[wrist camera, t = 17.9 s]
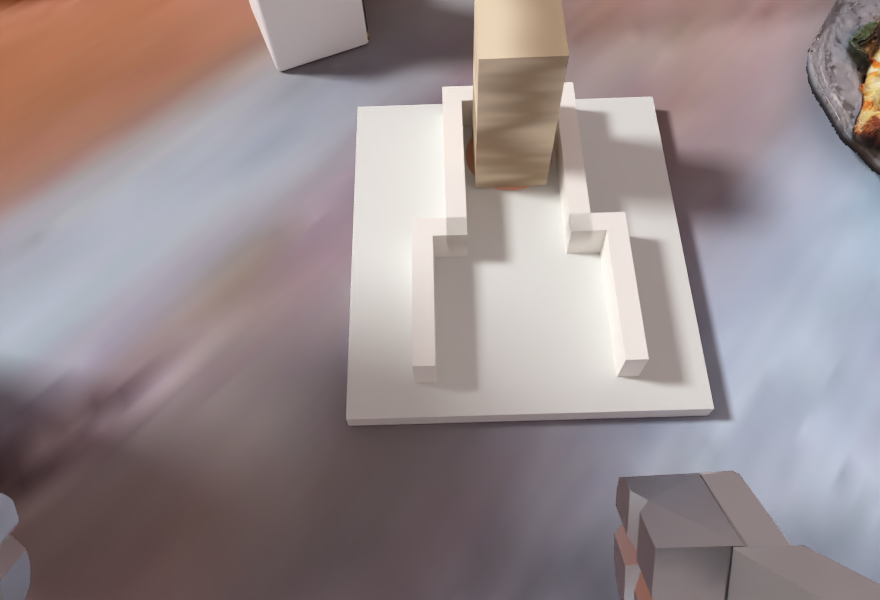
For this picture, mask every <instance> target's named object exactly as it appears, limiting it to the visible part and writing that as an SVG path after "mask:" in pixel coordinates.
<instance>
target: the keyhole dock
mask: <svg viewBox="0 0 880 600" xmlns="http://www.w3.org/2000/svg"><path fill="white" fill-rule="evenodd" d="M442 96H443V104H428V105H400V106H372V107H358V114H357V140H356V167H355V193H354V219H353V246H352V272H351V298H350V324H349V351H348V377H347V403H346V421H347V423H348V425H349V426H360V425H395V424H430V423H465V422H500V421H535V420H570V419H604V418H639V417H674V416H708V415H709V414H710V413H711V412H712V411H713V410H714V405H713V400H712V395H711V390H710V385H709V380H708V375H707V370H706V365H705V360H704V355H703V350H702V345H701V339H700V334H699V329H698V324H697V319H696V314H695V309H694V304H693V299H692V294H691V289H690V284H689V279H688V274H687V269H686V264H685V259H684V254H683V248H682V243H681V238H680V233H679V228H678V223H677V218H676V213H675V208H674V203H673V198H672V193H671V188H670V183H669V178H668V173H667V168H666V163H665V158H664V152H663V147H662V142H661V137H660V132H659V127H658V122H657V117H656V112H655V107H654V102H653V97H627V98H599V99H575V94H574V87H573V82H566V83H564V87H563V92H562V98H561V104H560V110H559V115H558V121H557V127H556V132H555V138H554V144H553V149H552V155H551V161H550V167H549V172H548V178H547V184H546V185H542V186H513V187H486V188H475V174H474V156H473V137H472V115H473V86H453V87H442Z"/></svg>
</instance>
